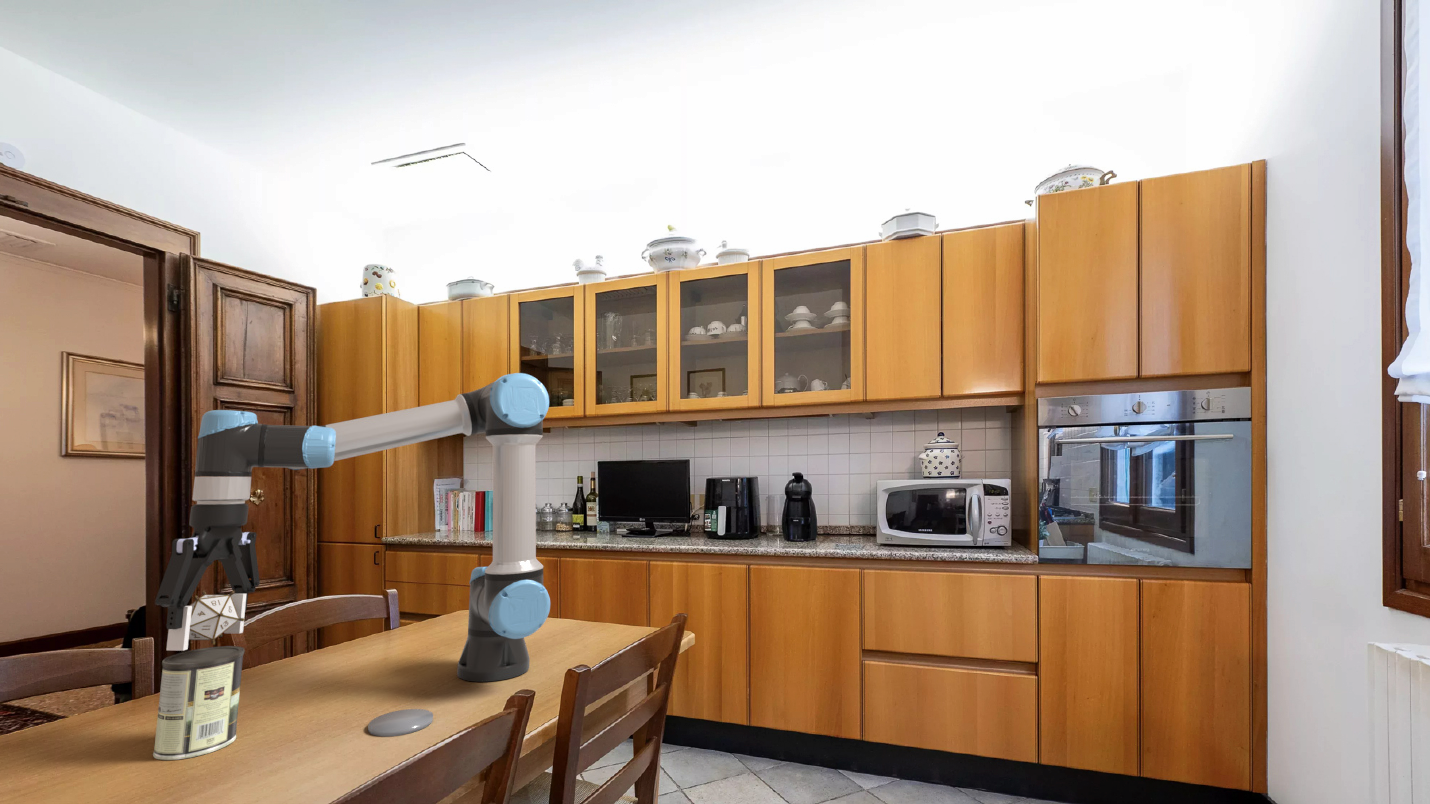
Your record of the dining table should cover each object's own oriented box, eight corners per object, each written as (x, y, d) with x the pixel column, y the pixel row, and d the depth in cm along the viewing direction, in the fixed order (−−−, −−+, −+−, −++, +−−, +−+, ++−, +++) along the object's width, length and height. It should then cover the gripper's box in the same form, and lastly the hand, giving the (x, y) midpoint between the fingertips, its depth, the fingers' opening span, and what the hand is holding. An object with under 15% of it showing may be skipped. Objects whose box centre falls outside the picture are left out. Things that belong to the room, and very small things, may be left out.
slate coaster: (443, 714, 110) (443, 709, 110) (413, 737, 100) (414, 731, 101) (389, 713, 111) (390, 708, 111) (355, 735, 101) (355, 730, 101)
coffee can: (196, 731, 103) (205, 644, 104) (252, 734, 102) (260, 646, 103) (132, 759, 92) (143, 662, 94) (194, 762, 91) (204, 664, 93)
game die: (198, 669, 97) (169, 626, 92) (181, 643, 101) (152, 600, 96) (261, 632, 103) (237, 590, 98) (242, 608, 107) (218, 567, 102)
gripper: (252, 500, 113) (241, 624, 110) (133, 505, 91) (114, 660, 88) (291, 500, 113) (280, 624, 110) (181, 505, 91) (163, 661, 88)
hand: (206, 640), depth 99 cm, fingers closed on game die, 10 cm apart
